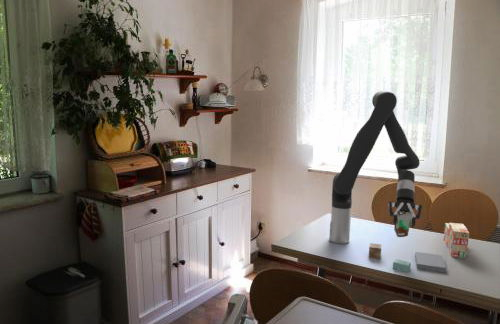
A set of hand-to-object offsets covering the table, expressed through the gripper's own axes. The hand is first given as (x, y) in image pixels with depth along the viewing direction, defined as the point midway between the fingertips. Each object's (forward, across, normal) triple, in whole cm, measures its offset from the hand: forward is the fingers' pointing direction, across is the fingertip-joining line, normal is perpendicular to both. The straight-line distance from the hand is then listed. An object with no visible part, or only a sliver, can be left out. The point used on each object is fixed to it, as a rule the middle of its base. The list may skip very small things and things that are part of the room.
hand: (403, 225), depth 177 cm
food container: (+2, 0, +4) cm, 5 cm away
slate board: (+11, +12, +11) cm, 20 cm away
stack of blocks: (-5, +24, +28) cm, 37 cm away
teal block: (+18, 0, +5) cm, 18 cm away
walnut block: (+11, -11, +12) cm, 19 cm away
